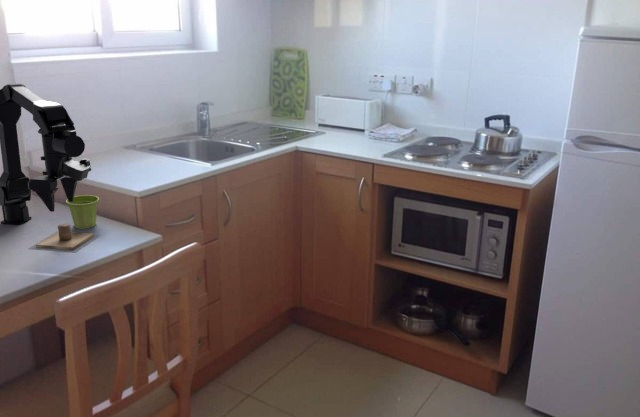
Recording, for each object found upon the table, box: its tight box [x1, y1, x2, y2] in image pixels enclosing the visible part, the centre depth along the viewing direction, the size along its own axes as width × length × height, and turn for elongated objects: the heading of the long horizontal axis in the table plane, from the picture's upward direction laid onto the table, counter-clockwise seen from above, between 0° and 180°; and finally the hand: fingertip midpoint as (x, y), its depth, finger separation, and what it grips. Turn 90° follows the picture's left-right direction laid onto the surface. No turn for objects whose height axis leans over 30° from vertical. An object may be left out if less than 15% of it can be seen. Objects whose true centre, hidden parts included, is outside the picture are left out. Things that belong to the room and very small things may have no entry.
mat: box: [27, 231, 102, 254], centre depth 164 cm, size 14×14×1 cm
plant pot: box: [65, 194, 100, 230], centre depth 176 cm, size 9×9×9 cm
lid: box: [36, 223, 94, 250], centre depth 163 cm, size 11×11×5 cm
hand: (61, 206), depth 161 cm, fingers open, 9 cm apart
